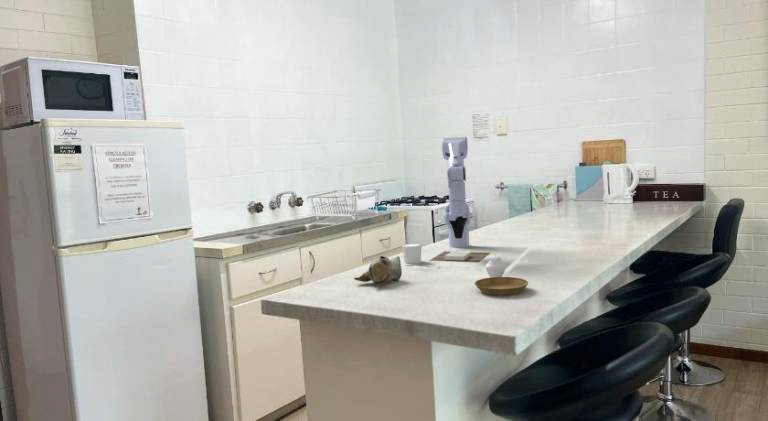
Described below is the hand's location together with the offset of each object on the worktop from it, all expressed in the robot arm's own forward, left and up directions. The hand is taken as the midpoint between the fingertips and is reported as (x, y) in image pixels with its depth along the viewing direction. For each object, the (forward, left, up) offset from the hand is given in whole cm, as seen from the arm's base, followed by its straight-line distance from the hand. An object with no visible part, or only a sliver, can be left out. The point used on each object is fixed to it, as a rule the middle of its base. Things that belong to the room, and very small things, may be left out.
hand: (458, 238), depth 212 cm
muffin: (+25, +19, -8) cm, 33 cm away
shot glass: (+10, -14, -8) cm, 19 cm away
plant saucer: (+40, +24, -8) cm, 48 cm away
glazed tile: (-3, 0, -6) cm, 7 cm away
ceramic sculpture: (+39, -13, -8) cm, 42 cm away
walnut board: (-2, 0, -8) cm, 8 cm away
